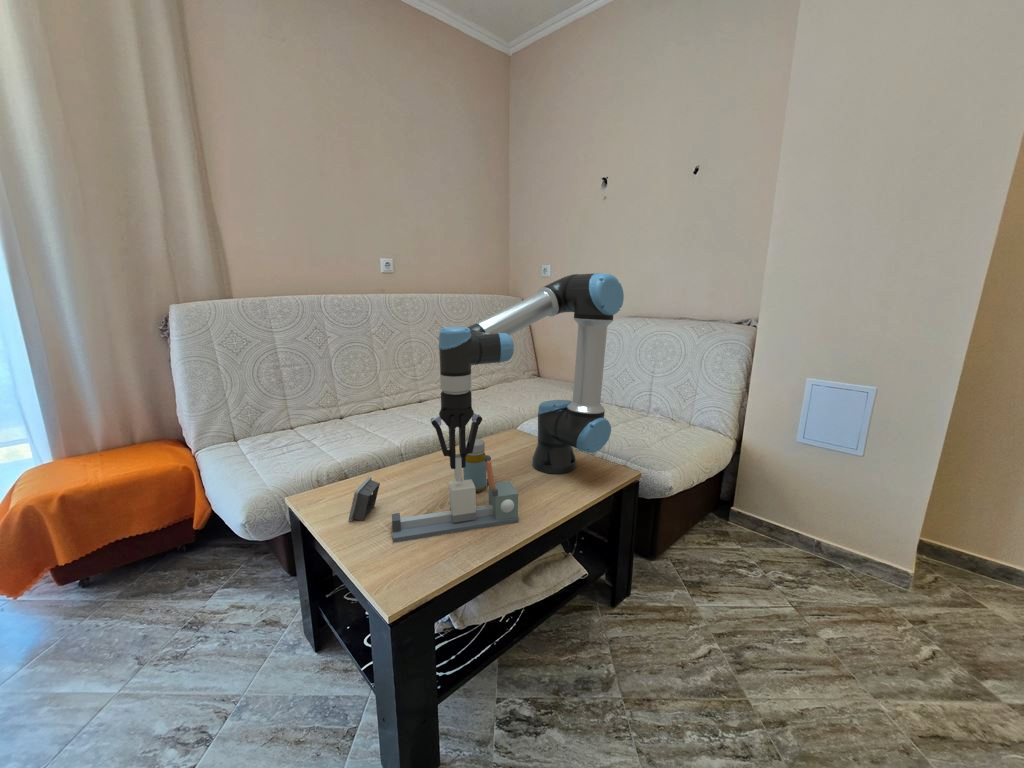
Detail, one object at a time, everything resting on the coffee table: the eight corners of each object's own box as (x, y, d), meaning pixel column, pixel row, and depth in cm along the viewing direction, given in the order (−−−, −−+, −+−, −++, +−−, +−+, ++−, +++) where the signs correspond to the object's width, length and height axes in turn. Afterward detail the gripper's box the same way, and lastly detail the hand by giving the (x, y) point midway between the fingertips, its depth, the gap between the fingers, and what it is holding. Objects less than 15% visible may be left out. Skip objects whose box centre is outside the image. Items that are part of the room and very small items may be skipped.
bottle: (483, 494, 125) (482, 447, 122) (460, 492, 127) (459, 445, 123) (488, 483, 132) (488, 439, 129) (467, 481, 133) (466, 437, 130)
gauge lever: (493, 482, 113) (488, 451, 111) (497, 489, 109) (492, 457, 107) (486, 484, 113) (481, 453, 110) (490, 491, 109) (485, 459, 106)
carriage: (472, 509, 113) (471, 479, 111) (476, 519, 109) (475, 487, 107) (450, 513, 112) (449, 482, 110) (453, 522, 107) (452, 490, 105)
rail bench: (509, 505, 119) (509, 474, 117) (518, 522, 110) (518, 488, 108) (392, 523, 110) (390, 489, 108) (393, 542, 101) (390, 506, 99)
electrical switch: (362, 504, 119) (363, 474, 117) (380, 506, 119) (381, 477, 117) (347, 522, 110) (348, 490, 108) (367, 525, 110) (367, 493, 108)
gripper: (478, 385, 108) (479, 470, 113) (427, 388, 104) (430, 476, 109) (485, 392, 101) (486, 482, 106) (430, 396, 97) (434, 489, 102)
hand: (458, 479), depth 107 cm, fingers closed
